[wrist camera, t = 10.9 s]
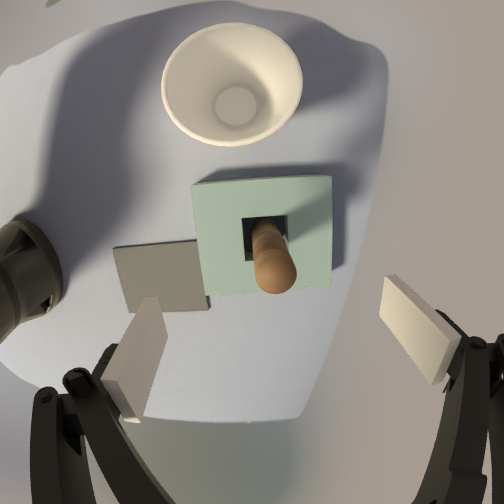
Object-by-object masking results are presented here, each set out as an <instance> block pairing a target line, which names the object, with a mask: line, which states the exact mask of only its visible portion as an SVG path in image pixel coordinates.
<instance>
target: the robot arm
mask: <svg viewBox="0 0 504 504" xmlns="http://www.w3.org/2000/svg"><path fill="white" fill-rule="evenodd" d="M61 293H62V274H61V269H60V265H59V262H58V259H57V256H56V254H55V251H54V249H53V247H52V245H51V244H50V242H49V240H48V239H47V237H46V236H45V235H44V234H43V232H42V231H41V230H40V229H39V228H38V227H37V226H35V225H34V224H32V223H31V222H29V221H26V220H15V221H12V222H10V223H8V224H6V225H4V226H3V227H1V228H0V344H1V343H2V342H3V340H4V339H5V338H6V337H7V336H8V335H9V334H10V333H11V332H12V331H13V330H14V329H15V328H16V327H17V326H18V325H19V324H21V323H24V322H26V321H29V320H32V319H35V318H38V317H41V316H44V315H45V314H47V313H48V312H49V311H50V310H51V309H52V308H53V307H55V306H56V304H57V303H58V301H59V299H60V297H61ZM379 316H380V317H381V318H382V319H383V321H384V322H385V323H386V325H387V326H388V327H389V329H390V330H391V331H392V333H393V334H394V335H395V337H396V338H397V339H398V341H399V342H400V343H401V345H402V346H403V347H404V348H405V350H406V351H407V353H408V354H409V356H410V357H411V358H412V359H413V361H414V362H415V364H416V365H417V367H418V368H419V370H420V371H421V372H422V373H423V375H424V377H425V378H426V379H427V381H428V382H429V384H430V385H431V386H432V385H435V384H437V383H439V382H442V381H443V379H444V377H445V375H446V373H448V374H449V375H450V378H449V381H448V382H447V384H446V387H445V388H444V390H443V393H444V392H445V391H446V390H447V391H446V396H445V402H444V407H443V412H442V416H441V421H440V425H439V430H438V433H437V438H436V441H435V444H434V448H433V451H432V455H431V458H430V461H429V464H428V467H427V470H426V473H425V475H424V478H423V481H422V484H421V486H420V488H419V491H418V493H417V496H416V498H415V499H414V501H413V502H412V504H482V501H483V497H484V493H485V489H486V485H487V476H486V475H483V474H482V466H483V461H484V455H485V449H486V441H487V433H488V432H489V440H490V450H491V464H492V504H504V334H500V335H499V336H498V338H497V340H496V342H495V343H486V342H485V341H484V340H483V339H482V338H480V337H476V336H472V337H468V336H467V335H466V334H465V333H464V332H463V331H462V330H461V329H460V328H459V327H458V326H457V325H456V324H454V322H453V321H452V320H450V318H449V317H448V316H447V315H446V314H445V313H443V312H441V311H439V310H437V309H436V310H434V309H433V308H432V307H431V306H430V305H429V304H428V303H427V302H426V301H425V300H424V299H422V298H421V297H420V296H419V295H418V294H417V293H416V292H415V291H414V290H413V289H412V288H410V287H409V286H408V285H407V284H406V283H405V282H404V281H402V280H401V279H400V278H399V277H398V276H397V275H396V274H395V275H388V276H385V280H384V288H383V294H382V301H381V308H380V313H379ZM167 338H168V334H167V331H166V327H165V323H164V320H163V316H162V312H161V308H160V304H159V300H158V297H145V299H144V300H143V302H142V304H141V306H140V307H139V309H138V311H137V312H136V314H135V316H134V318H133V319H132V321H131V323H130V325H129V326H128V328H127V330H126V332H125V334H124V335H123V337H122V339H121V341H120V343H119V344H113V343H112V344H111V345H110V346H109V347H108V348H106V349H105V351H104V353H103V354H102V356H101V358H100V360H99V361H98V364H97V365H96V367H95V369H94V370H93V372H92V374H90V373H89V371H88V370H87V369H85V368H79V367H78V368H74V369H72V370H70V371H68V372H67V373H66V374H65V375H64V377H63V385H64V387H65V388H66V390H67V391H68V394H58V392H57V391H56V390H55V388H53V387H44V388H41V389H40V390H39V391H38V392H37V393H36V394H35V397H34V402H33V411H32V421H31V437H30V478H31V494H32V504H96V500H95V496H94V491H93V487H92V482H91V477H90V472H89V467H88V460H87V454H86V446H85V438H84V435H85V436H86V438H87V441H88V443H89V445H90V448H91V450H92V452H93V455H94V457H95V459H96V461H97V463H98V465H99V467H100V469H101V471H102V473H103V475H104V477H105V479H106V481H107V483H108V484H109V486H110V488H111V490H112V492H113V493H114V495H115V497H116V498H117V500H118V502H119V503H120V504H176V503H175V502H174V501H173V500H172V498H171V497H170V496H169V495H168V493H167V492H166V491H165V490H164V488H163V487H162V486H161V485H160V483H159V482H158V481H157V479H156V478H155V477H154V475H153V474H152V473H151V471H150V470H149V468H148V467H147V465H146V464H145V462H144V461H143V460H142V458H141V457H140V455H139V453H138V452H137V450H136V449H135V447H134V446H133V444H132V443H131V441H130V440H129V438H128V436H127V434H126V432H125V431H124V429H123V427H122V426H121V424H120V422H119V421H118V419H119V416H120V414H121V415H122V417H123V418H124V420H125V421H127V422H135V423H141V420H142V417H143V413H144V410H145V407H146V403H147V400H148V397H149V393H150V390H151V387H152V384H153V381H154V377H155V374H156V371H157V368H158V365H159V362H160V359H161V356H162V353H163V350H164V347H165V344H166V341H167ZM502 374H503V380H502V377H501V376H502Z"/></svg>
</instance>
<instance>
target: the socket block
mask: <svg viewBox="0 0 504 504" xmlns="http://www.w3.org/2000/svg"><path fill="white" fill-rule="evenodd" d="M190 187H191V196H192V204H193V213H194V221H195V228H196V236H197V243H198V250H199V257H200V264H201V271H202V277H203V284H204V290H205V296H208V295H224V294H239V293H253V292H265V291H263V290H262V289H261V288H260V287H259V286H258V285H257V283H256V280H255V270H254V258H253V251H249V252H245V246H244V234H243V222H242V218H249V217H262V216H277V215H284V232H285V244H286V247H287V249H288V251H289V253H290V255H291V258H292V260H293V262H294V264H295V267H296V270H297V278H296V281H295V283H294V284H293V286H292V287H291V288H290V289H300V288H310V287H320V286H329V285H331V268H332V176H329V175H325V174H315V175H289V176H270V177H255V178H242V179H230V180H219V181H209V182H200V183H195V184H193V185H191V186H190Z"/></svg>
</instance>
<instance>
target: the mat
mask: <svg viewBox="0 0 504 504" xmlns="http://www.w3.org/2000/svg"><path fill="white" fill-rule="evenodd" d="M113 254H114V258H115V263H116V267H117V271H118V275H119V278H120V282H121V286H122V290H123V293H124V297H125V300H126V304H127V307H128V310H129V313H136V312H137V311H138V309H139V307H140V306H141V304H142V302H143V300H144V299H145V297H158V300H159V304H160V308H161V312H186V311H208V309H209V308H208V302H207V296H205V290H204V284H203V277H202V271H201V264H200V257H199V250H198V243H197V241H186V242H174V243H163V244H152V245H142V246H131V247H121V248H113Z"/></svg>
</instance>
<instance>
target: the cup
mask: <svg viewBox="0 0 504 504" xmlns="http://www.w3.org/2000/svg"><path fill="white" fill-rule="evenodd" d="M302 89H303V76H302V70H301V66H300V64H299V61H298V59H297V57H296V55H295V54H294V52H293V51H292V49H291V48H290V46H289V45H288V44H287V43H286V42H285V41H284V40H282V39H281V38H280V37H279V36H277V35H276V34H274V33H273V32H271V31H269V30H267V29H265V28H262V27H260V26H257V25H252V24H248V23H238V22H229V23H221V24H216V25H212V26H209V27H206V28H203V29H201V30H199V31H197V32H195V33H194V34H192V35H191V36H189V37H188V38H187V39H185V40H184V41H183V42H182V43H181V44H180V45H179V46H178V47H177V48H176V49H175V50H174V51H173V53H172V55H171V56H170V58H169V59H168V61H167V63H166V66H165V69H164V71H163V75H162V82H161V91H162V99H163V102H164V105H165V108H166V111H167V112H168V114H169V116H170V117H171V119H172V120H173V122H174V123H175V124H176V125H177V126H178V127H179V128H180V129H181V130H182V131H184V132H185V133H187V134H188V135H189V136H191V137H193V138H195V139H197V140H199V141H202V142H204V143H208V144H212V145H216V146H229V147H234V146H242V145H248V144H251V143H254V142H258V141H261V140H263V139H264V138H266V137H268V136H270V135H272V134H274V133H275V132H276V131H278V130H279V129H280V128H281V127H283V126H284V125H285V124H286V122H287V121H288V120H289V119H290V118H291V117H292V115H293V114H294V112H295V110H296V108H297V106H298V105H299V101H300V98H301V95H302Z"/></svg>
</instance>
